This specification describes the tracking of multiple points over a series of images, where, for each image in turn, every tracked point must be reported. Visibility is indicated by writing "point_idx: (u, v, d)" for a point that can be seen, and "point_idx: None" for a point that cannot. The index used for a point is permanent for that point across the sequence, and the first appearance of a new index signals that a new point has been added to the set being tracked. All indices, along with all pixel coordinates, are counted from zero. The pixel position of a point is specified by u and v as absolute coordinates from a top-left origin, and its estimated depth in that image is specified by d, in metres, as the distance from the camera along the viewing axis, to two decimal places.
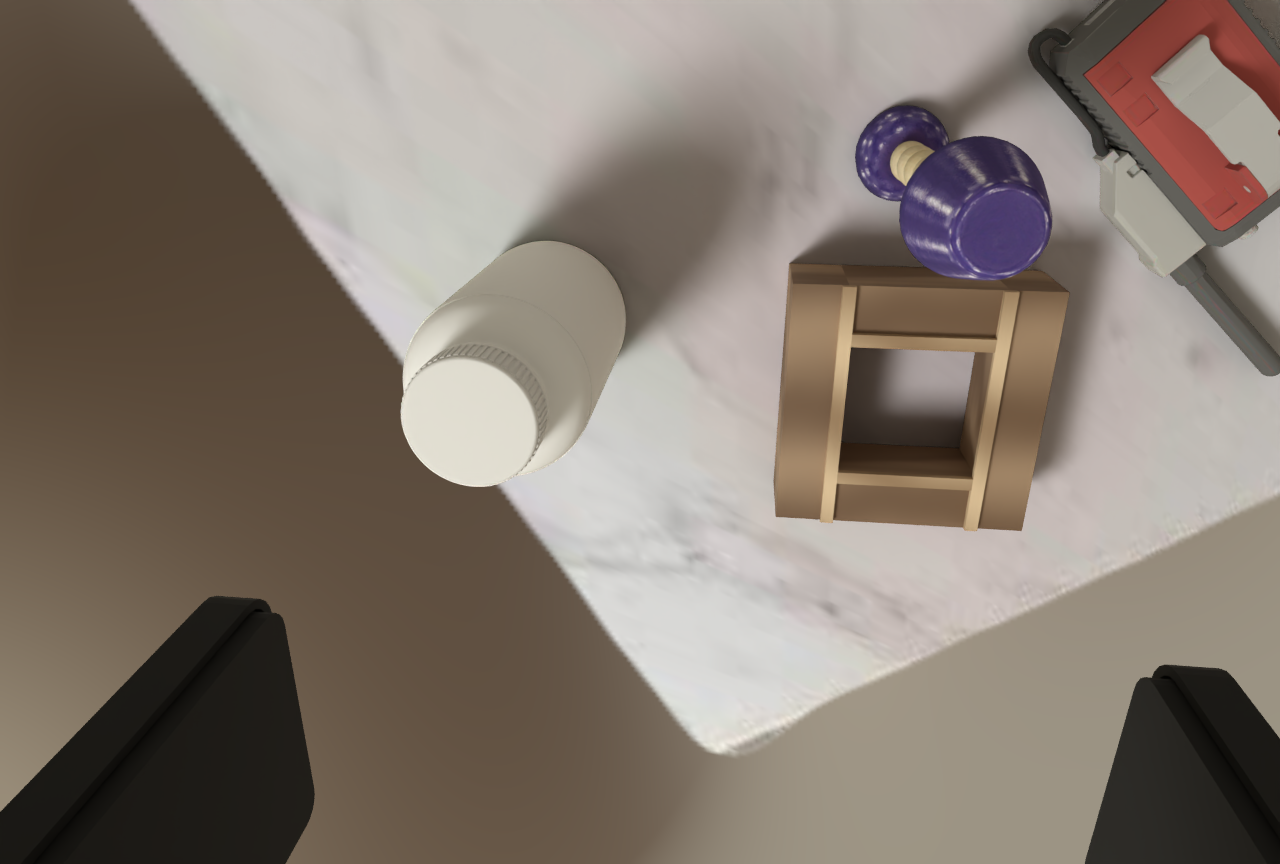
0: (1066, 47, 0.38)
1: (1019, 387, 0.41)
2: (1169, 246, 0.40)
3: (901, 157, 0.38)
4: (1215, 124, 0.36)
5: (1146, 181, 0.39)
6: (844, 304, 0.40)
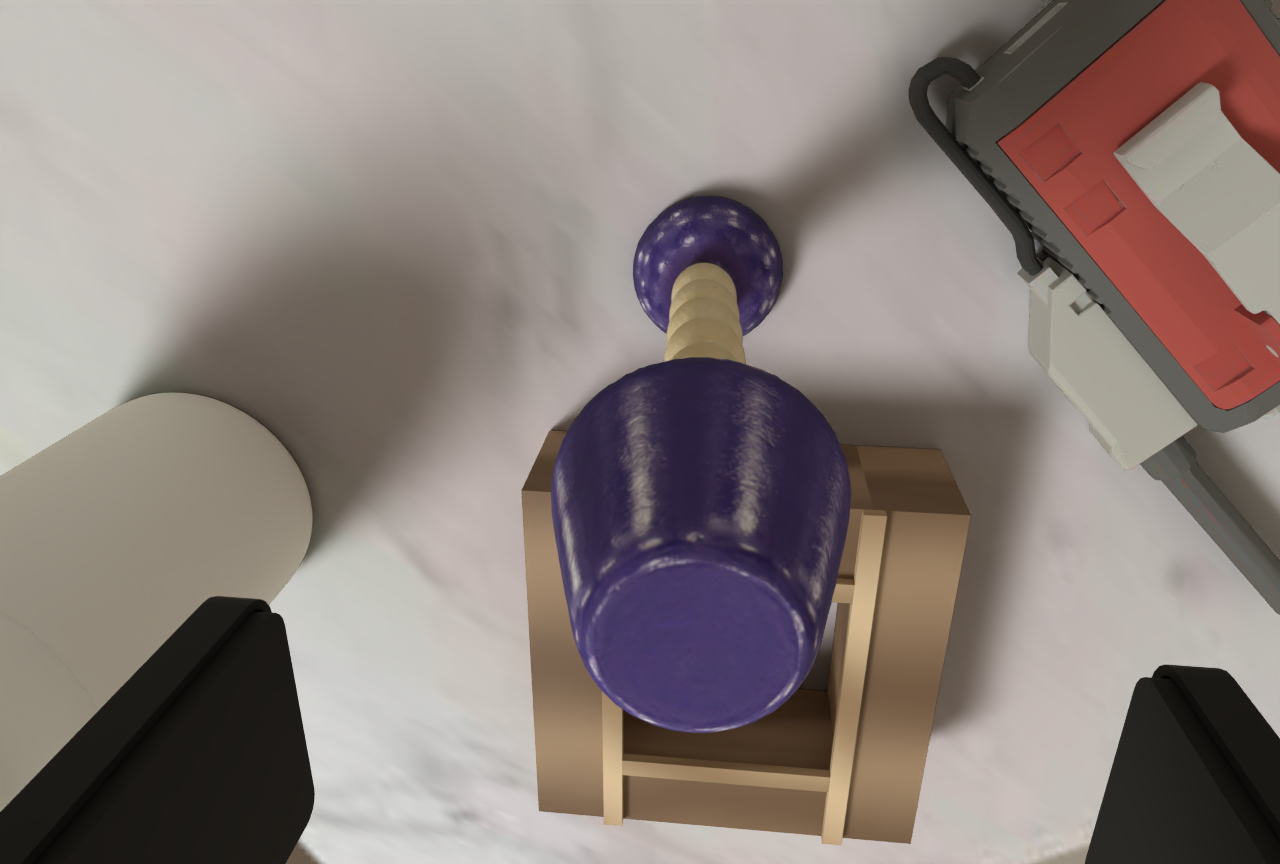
0: (970, 92, 0.22)
1: (896, 650, 0.26)
2: (1137, 425, 0.24)
3: (673, 301, 0.22)
4: (1224, 244, 0.20)
5: (1102, 322, 0.23)
6: None
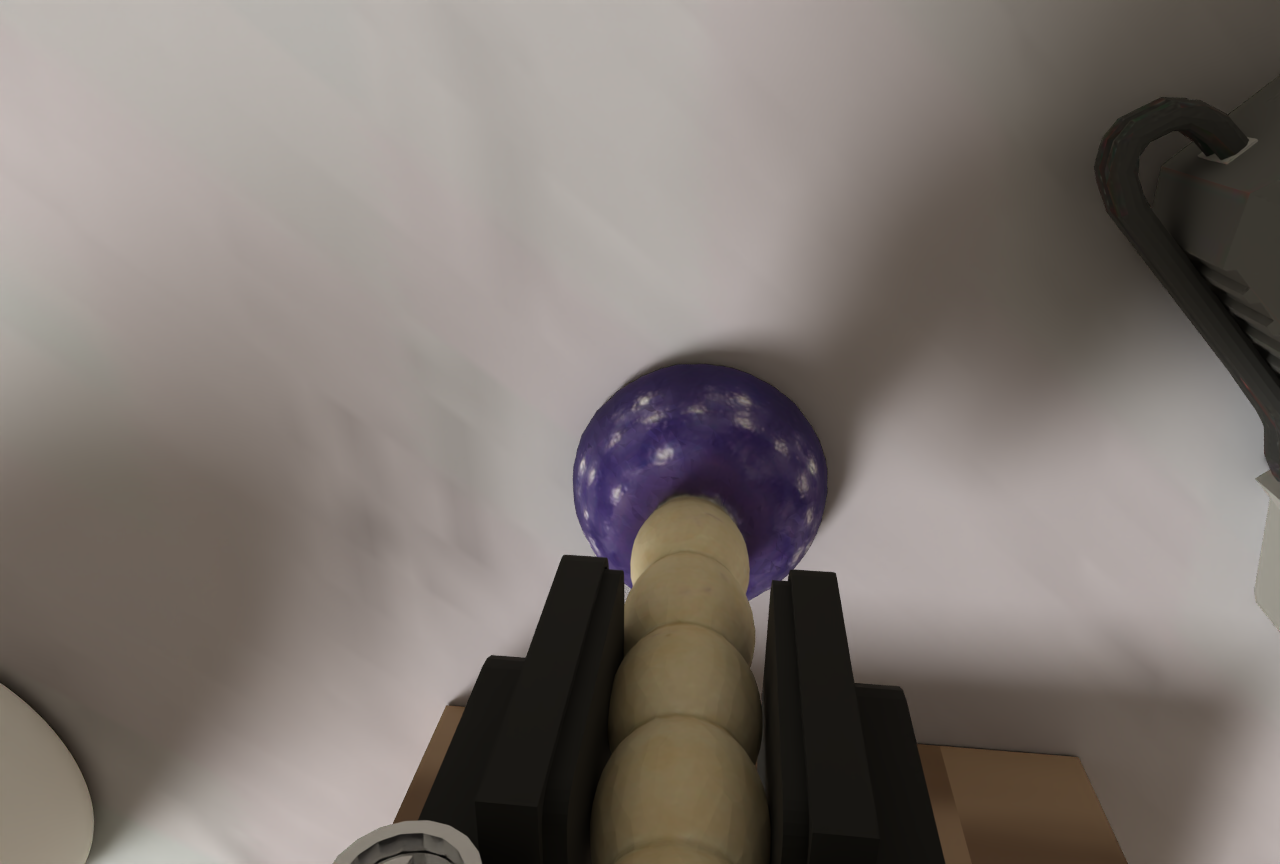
0: (1231, 167, 0.11)
1: None
2: None
3: (628, 605, 0.11)
4: None
5: None
6: None
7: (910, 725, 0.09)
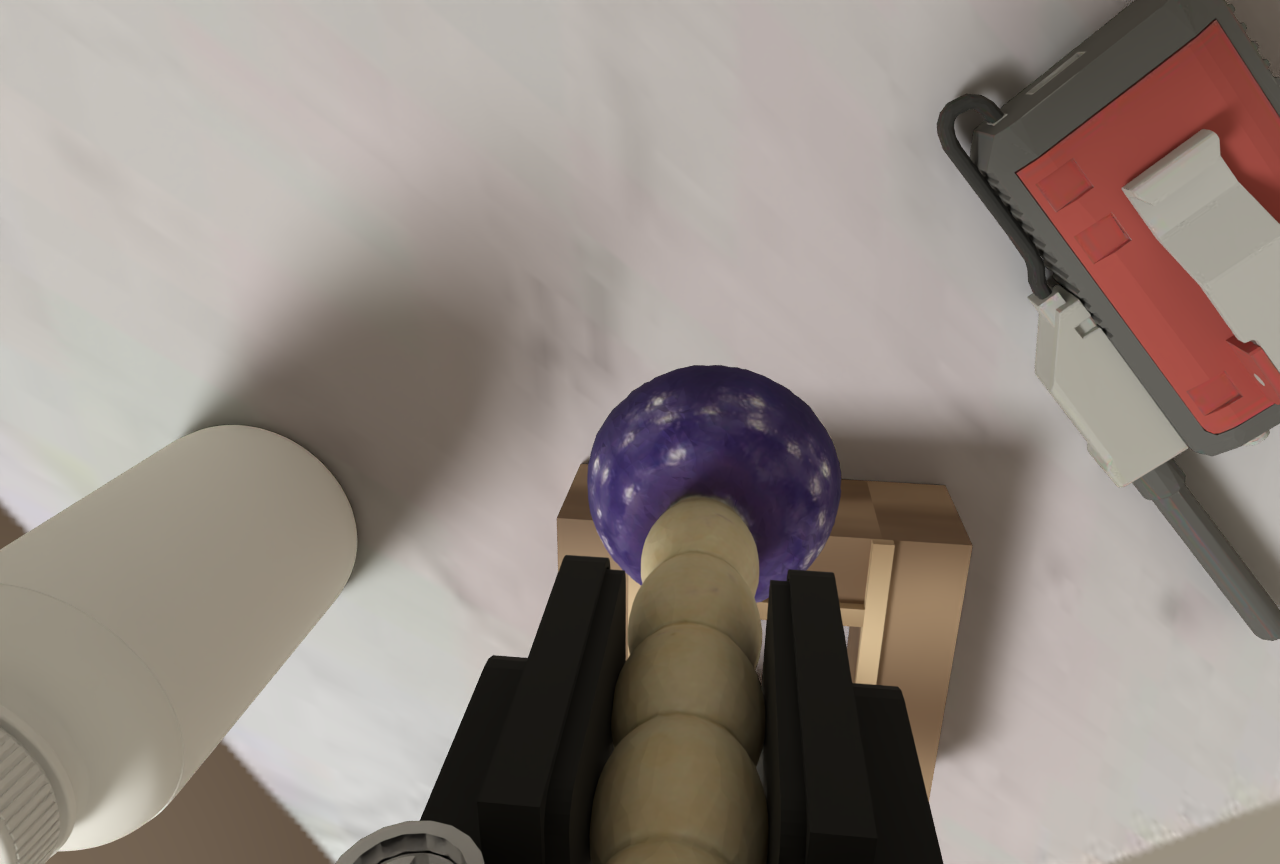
0: (994, 126, 0.24)
1: (903, 672, 0.27)
2: (1132, 445, 0.26)
3: (636, 604, 0.11)
4: (1218, 276, 0.22)
5: (1104, 345, 0.25)
6: None
7: (908, 725, 0.09)
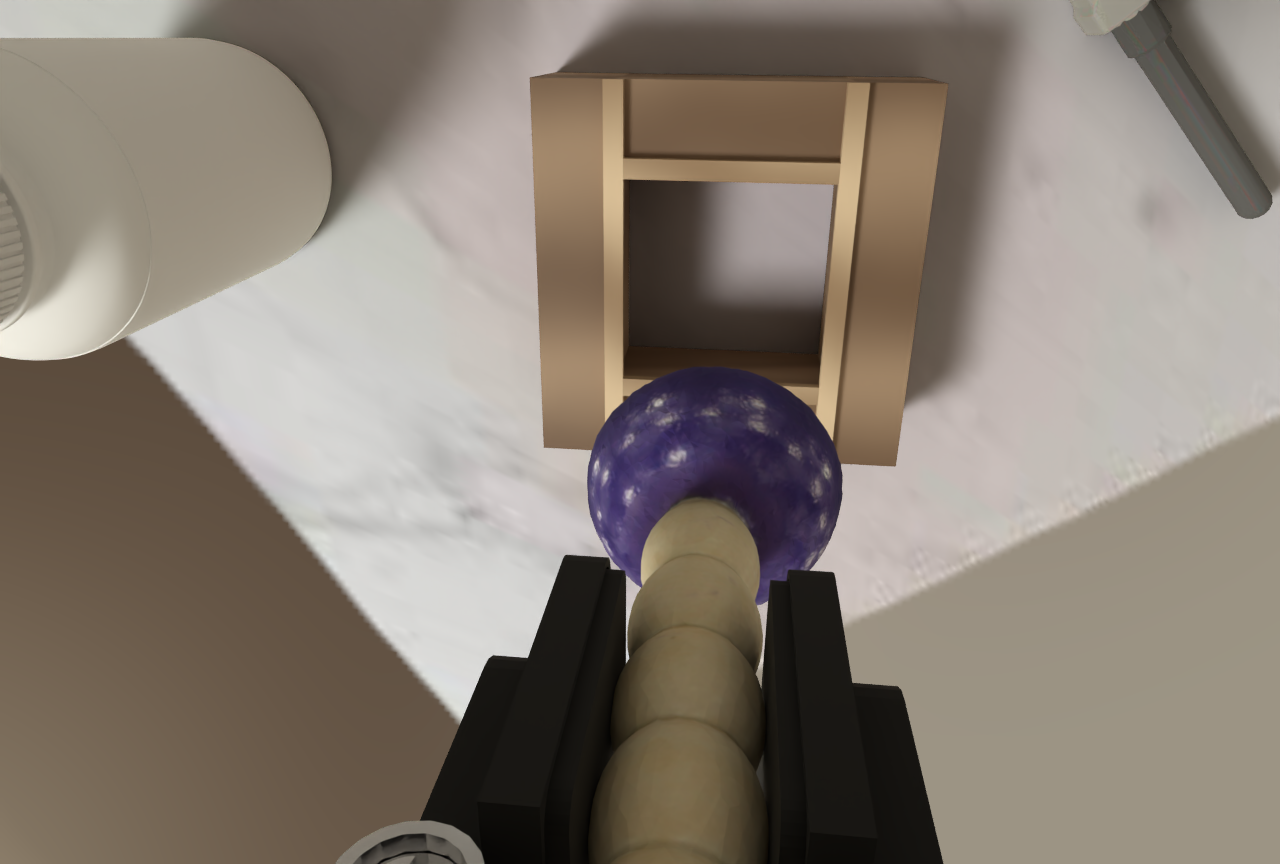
0: None
1: (880, 242, 0.27)
2: None
3: (635, 607, 0.11)
4: None
5: None
6: (606, 108, 0.26)
7: (908, 725, 0.09)
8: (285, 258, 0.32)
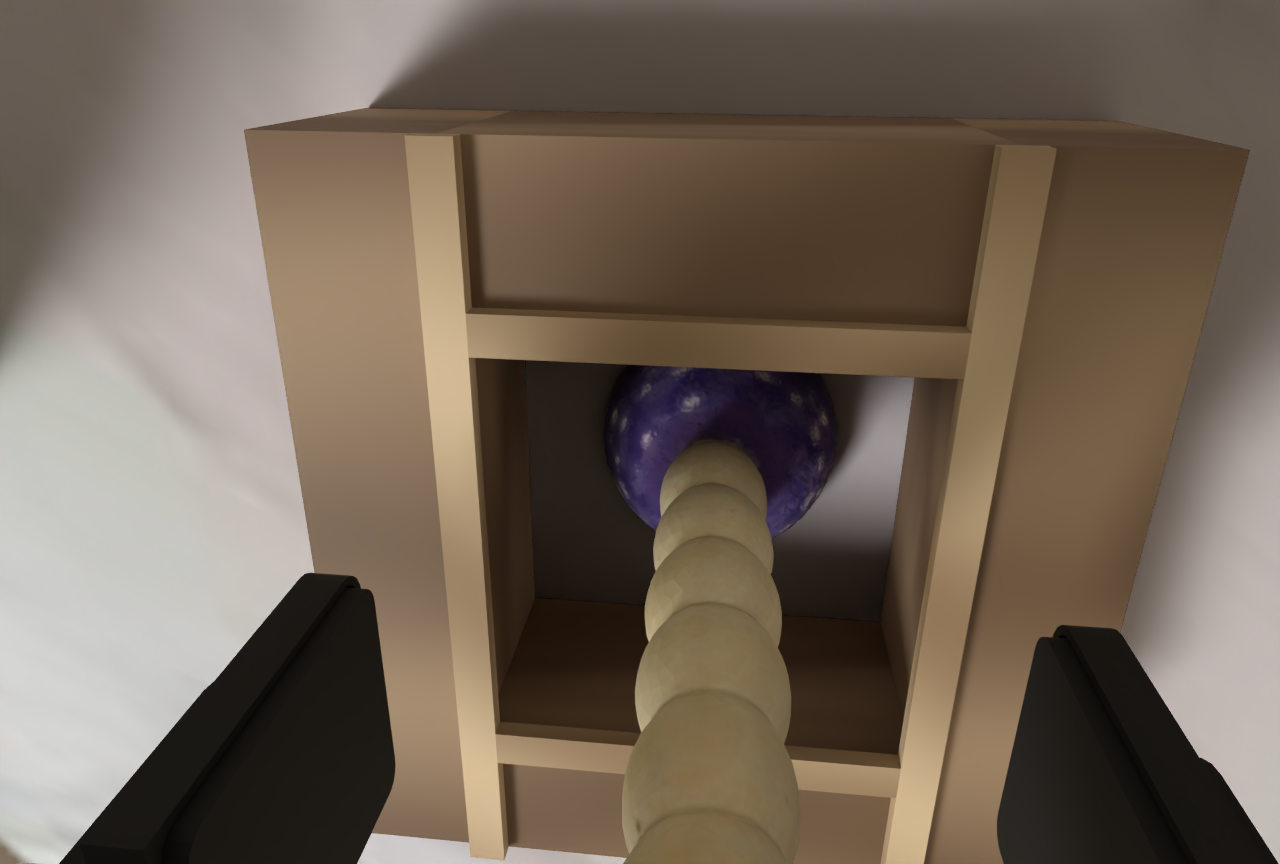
0: None
1: (1049, 496, 0.12)
2: None
3: (661, 526, 0.13)
4: None
5: None
6: (420, 203, 0.11)
7: (1241, 808, 0.08)
8: None
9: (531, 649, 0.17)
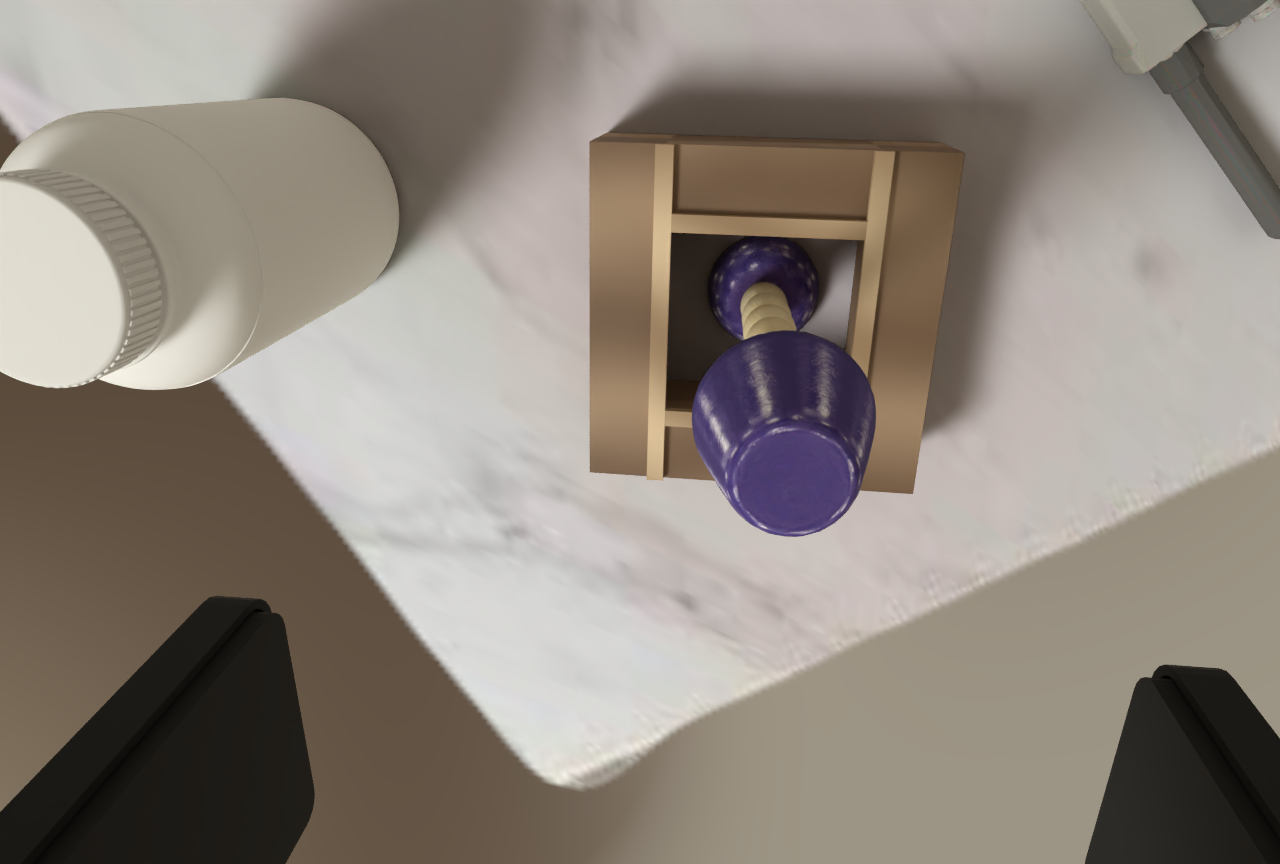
0: None
1: (902, 291, 0.30)
2: (1155, 24, 0.28)
3: (745, 307, 0.31)
4: None
5: None
6: (658, 170, 0.29)
7: None
8: None
9: (670, 393, 0.35)
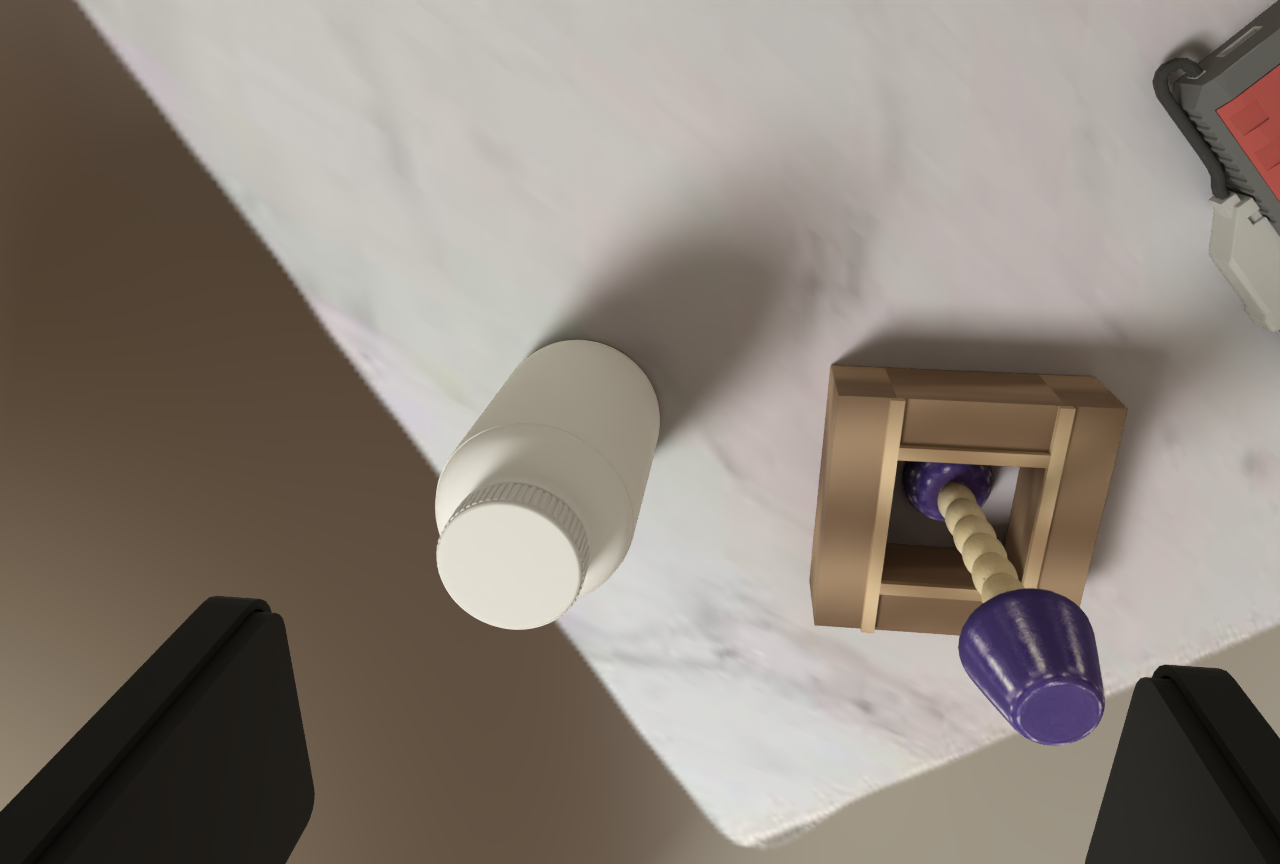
0: (1197, 79, 0.35)
1: (1072, 502, 0.40)
2: None
3: (950, 512, 0.40)
4: None
5: (1268, 229, 0.36)
6: (892, 417, 0.39)
7: None
8: None
9: None
